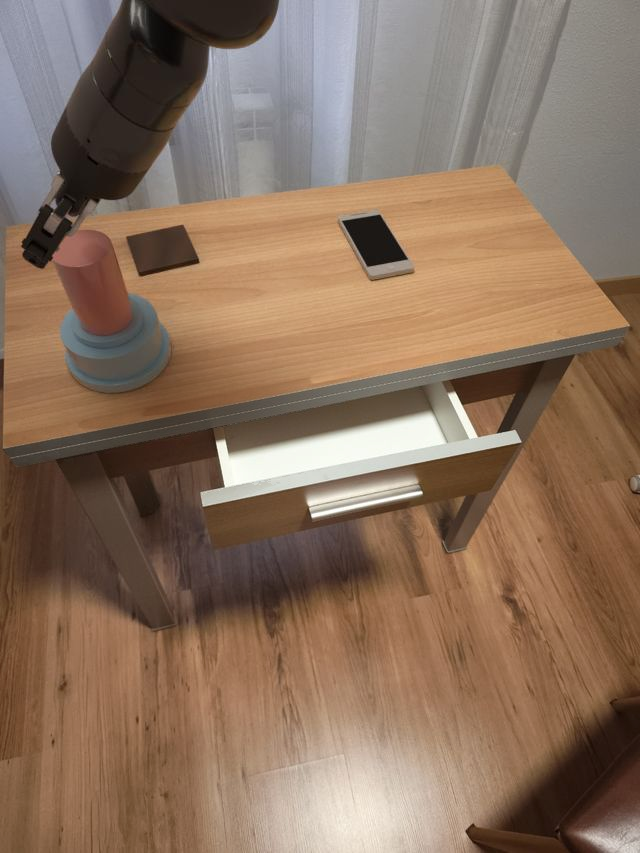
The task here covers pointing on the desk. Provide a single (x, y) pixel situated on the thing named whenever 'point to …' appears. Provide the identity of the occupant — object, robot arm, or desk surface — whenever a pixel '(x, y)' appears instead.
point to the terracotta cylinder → (94, 282)
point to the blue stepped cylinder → (117, 351)
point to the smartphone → (375, 244)
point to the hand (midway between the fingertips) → (53, 233)
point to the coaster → (162, 250)
